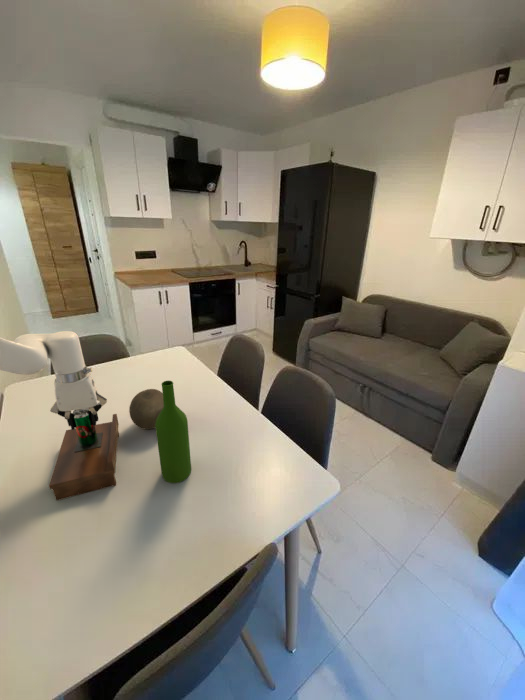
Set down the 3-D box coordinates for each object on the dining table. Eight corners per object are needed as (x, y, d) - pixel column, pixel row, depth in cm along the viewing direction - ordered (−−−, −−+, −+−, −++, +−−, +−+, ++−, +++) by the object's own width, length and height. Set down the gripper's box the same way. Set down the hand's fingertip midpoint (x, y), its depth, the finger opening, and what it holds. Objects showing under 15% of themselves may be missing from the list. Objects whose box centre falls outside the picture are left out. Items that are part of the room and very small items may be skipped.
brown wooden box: (54, 501, 80) (45, 477, 77) (70, 443, 101) (63, 423, 97) (117, 484, 86) (112, 462, 82) (120, 433, 106) (116, 413, 103)
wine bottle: (192, 459, 96) (185, 374, 83) (190, 481, 88) (183, 390, 75) (164, 462, 95) (152, 375, 81) (160, 485, 87) (146, 392, 73)
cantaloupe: (128, 440, 103) (122, 405, 97) (136, 416, 116) (130, 383, 110) (169, 436, 106) (166, 401, 100) (172, 412, 119) (169, 381, 113)
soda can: (90, 434, 96) (83, 404, 91) (101, 439, 94) (94, 408, 89) (76, 443, 92) (67, 412, 87) (86, 449, 90) (78, 417, 85)
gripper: (105, 364, 89) (115, 412, 97) (39, 372, 83) (55, 423, 91) (103, 375, 83) (114, 426, 90) (31, 385, 77) (49, 438, 84)
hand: (84, 424), depth 90 cm, fingers closed on soda can, 5 cm apart
